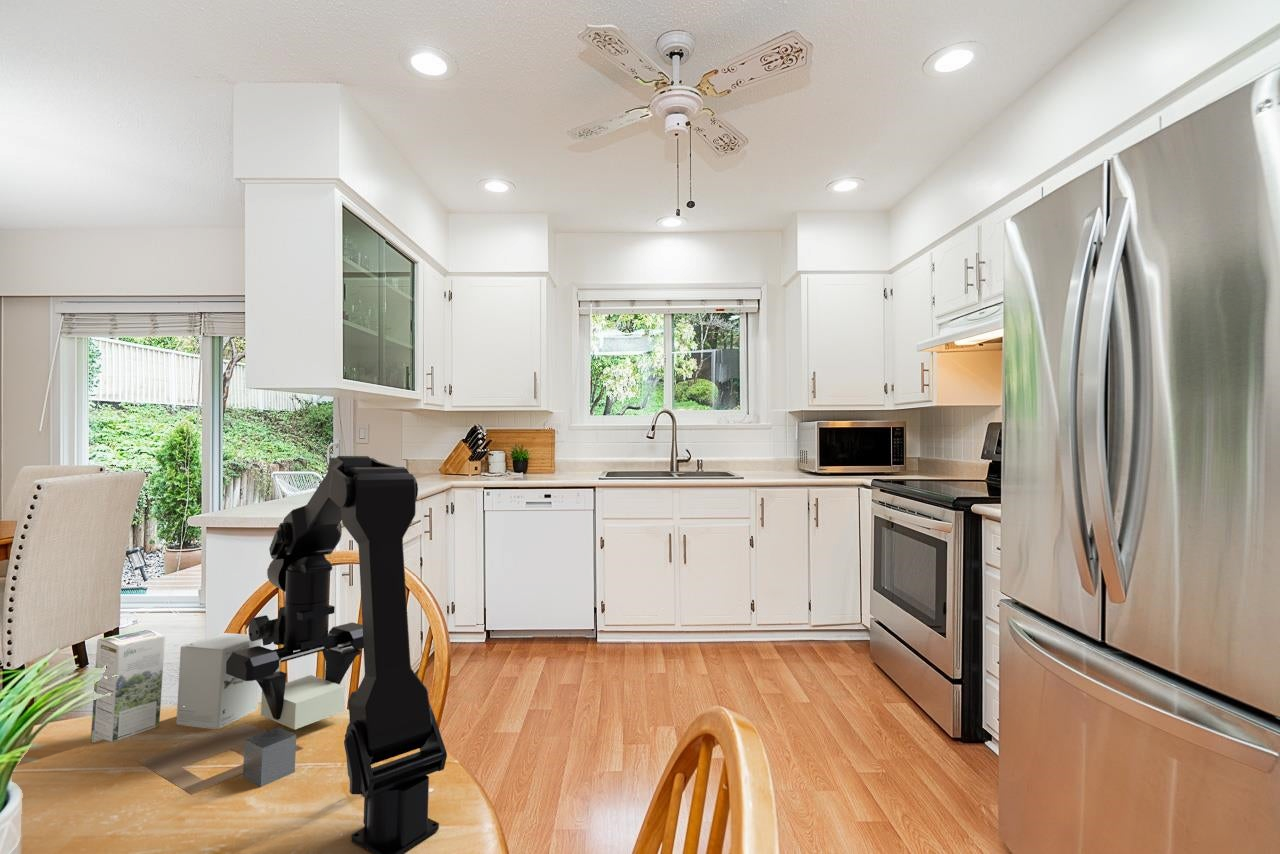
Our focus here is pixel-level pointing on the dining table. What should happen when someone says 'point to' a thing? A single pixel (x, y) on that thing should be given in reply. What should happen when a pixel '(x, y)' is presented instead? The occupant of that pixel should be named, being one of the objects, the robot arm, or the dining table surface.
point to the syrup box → (128, 685)
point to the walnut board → (201, 758)
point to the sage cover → (307, 702)
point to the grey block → (269, 756)
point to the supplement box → (214, 683)
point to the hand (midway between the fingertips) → (303, 709)
